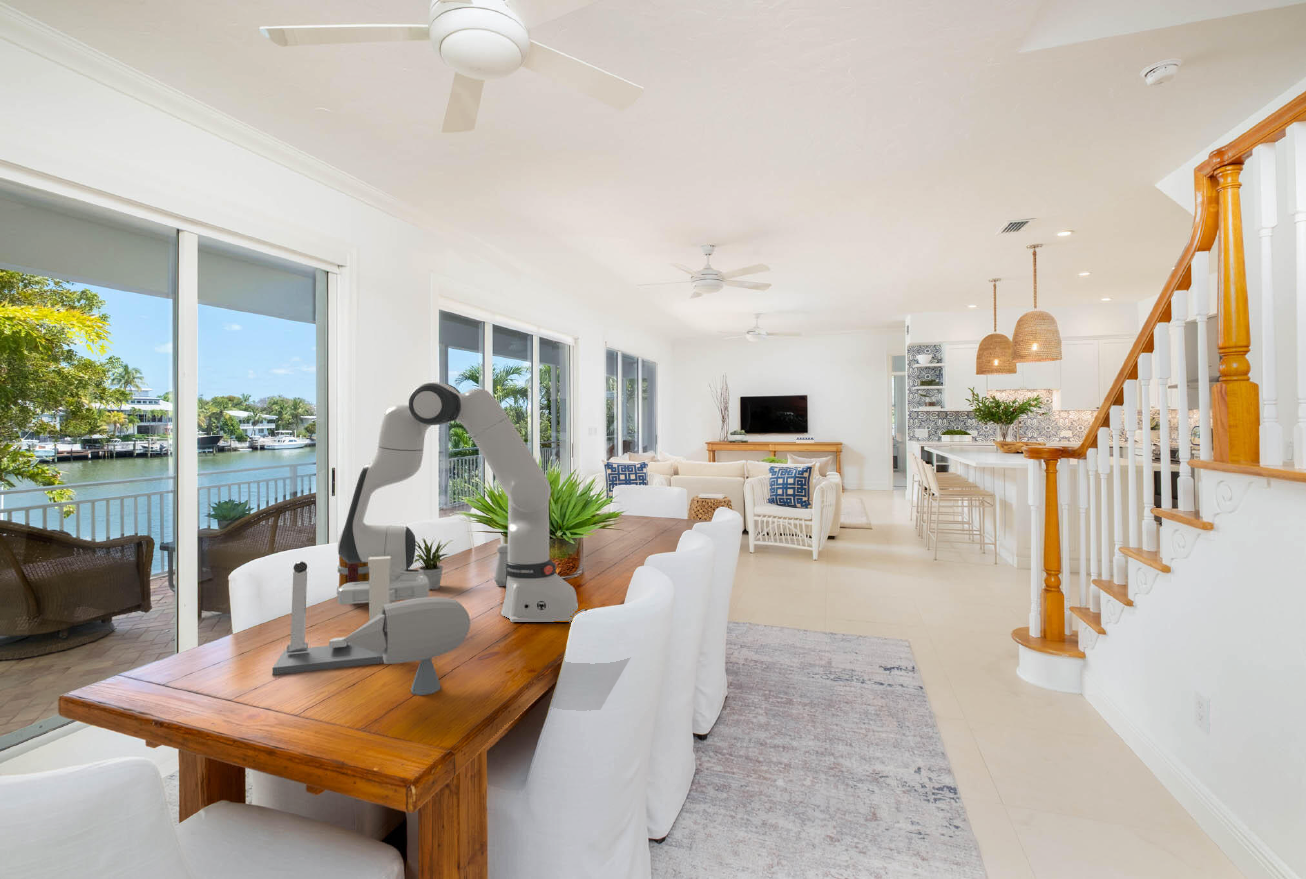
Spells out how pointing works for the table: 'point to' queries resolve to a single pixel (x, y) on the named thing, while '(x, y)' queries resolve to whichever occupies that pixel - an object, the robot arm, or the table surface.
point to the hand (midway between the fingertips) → (381, 599)
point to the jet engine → (415, 635)
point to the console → (325, 659)
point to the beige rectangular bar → (378, 584)
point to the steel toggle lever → (298, 609)
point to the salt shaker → (501, 565)
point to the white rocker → (337, 642)
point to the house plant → (431, 563)
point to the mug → (352, 572)
